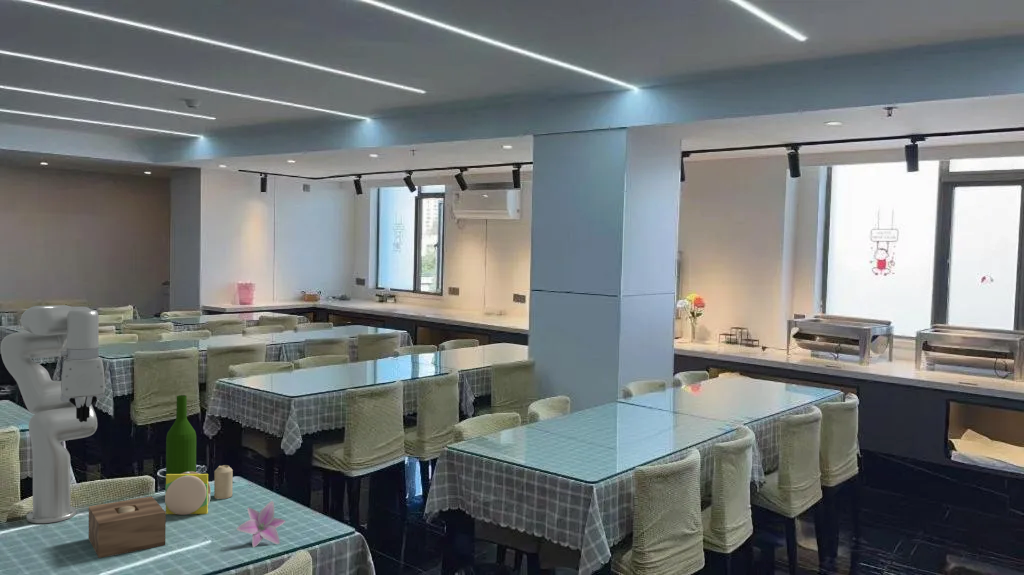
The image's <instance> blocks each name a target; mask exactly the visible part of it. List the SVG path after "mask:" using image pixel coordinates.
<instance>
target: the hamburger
mask: <svg viewBox="0 0 1024 575" xmlns="http://www.w3.org/2000/svg"><path fill="white" fill-rule="evenodd" d="M164 486H165V487H164V488H165V489H164V490H165V492H164V493H165V495H164V503H165V504H164V505H165V512H166V515H180V516H185V515H208V513H209V505H210V500H211V491H212V490H211V484H210V483H209V474H208V473H199V472H197V471H196V472H184V473H182V474H166V473H165V485H164Z"/></svg>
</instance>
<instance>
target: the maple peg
mask: <svg viewBox="0 0 1024 575" xmlns="http://www.w3.org/2000/svg"><path fill="white" fill-rule="evenodd" d="M132 511H135V507H133V506H126V507H121V508H119V509H118V514H120V513H126V512H132Z"/></svg>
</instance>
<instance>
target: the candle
mask: <svg viewBox="0 0 1024 575" xmlns="http://www.w3.org/2000/svg"><path fill="white" fill-rule="evenodd" d="M233 471H234V470H233V469H232V467H230V465H228V464H223V465H219V466H218V467H217V468H216V469H215V470H214V472H213V473H214V475H213V476H214V485H213V487H214V488H213V489H214V492H213V494H214V499H217V500H225V499H230V498H232V497H233V486H234V485H233V474H234V473H233Z"/></svg>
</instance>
